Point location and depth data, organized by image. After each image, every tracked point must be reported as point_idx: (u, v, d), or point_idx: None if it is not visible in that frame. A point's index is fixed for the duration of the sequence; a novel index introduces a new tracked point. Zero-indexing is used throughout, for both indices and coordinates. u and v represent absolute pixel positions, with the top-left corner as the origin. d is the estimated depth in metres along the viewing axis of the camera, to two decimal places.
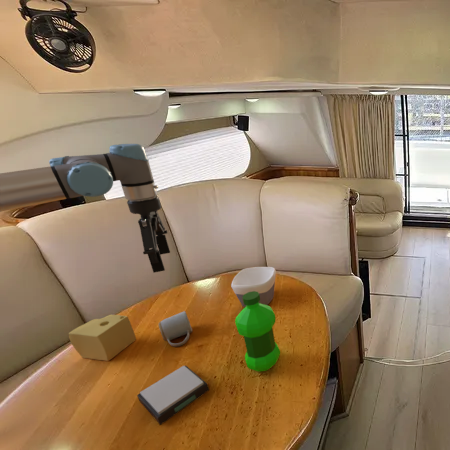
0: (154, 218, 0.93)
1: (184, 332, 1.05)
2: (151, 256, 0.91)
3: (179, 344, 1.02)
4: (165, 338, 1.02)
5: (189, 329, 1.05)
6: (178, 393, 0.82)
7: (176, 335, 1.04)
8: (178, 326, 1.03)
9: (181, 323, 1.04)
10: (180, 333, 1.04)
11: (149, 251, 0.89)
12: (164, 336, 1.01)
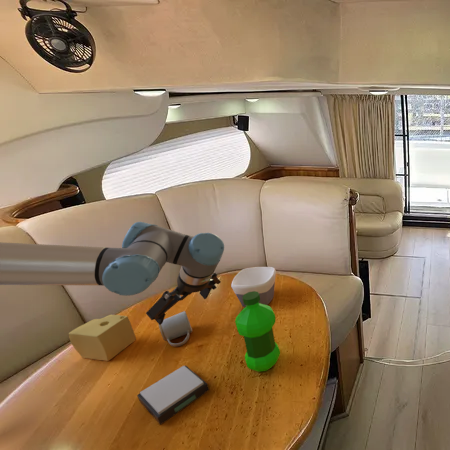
0: (188, 292, 0.86)
1: (184, 332, 1.05)
2: None
3: (179, 344, 1.02)
4: (165, 338, 1.02)
5: (189, 329, 1.05)
6: (178, 393, 0.82)
7: (176, 335, 1.04)
8: (178, 326, 1.03)
9: (181, 323, 1.04)
10: (180, 333, 1.04)
11: (149, 315, 0.84)
12: (164, 336, 1.01)
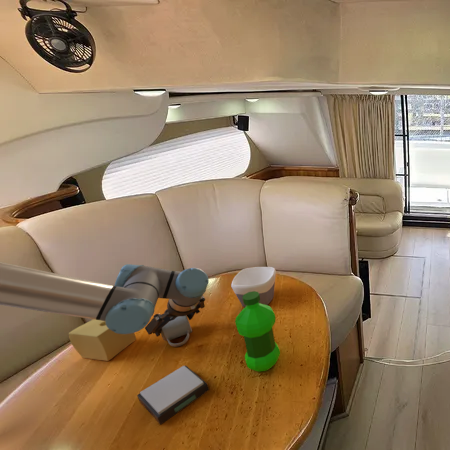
0: None
1: (184, 332, 1.05)
2: None
3: (179, 344, 1.02)
4: (165, 338, 1.02)
5: (189, 329, 1.05)
6: (178, 393, 0.82)
7: (176, 335, 1.04)
8: (178, 326, 1.03)
9: (181, 323, 1.04)
10: (180, 333, 1.04)
11: (147, 330, 0.96)
12: (164, 336, 1.01)
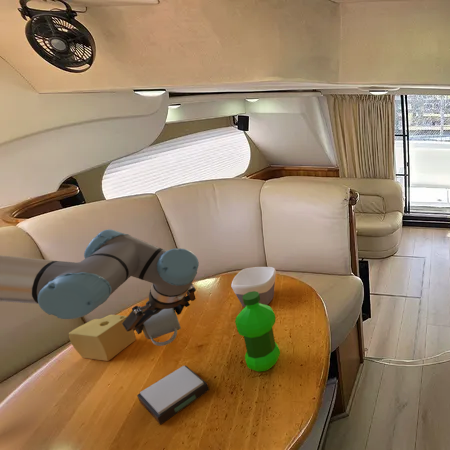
0: (161, 307, 0.79)
1: (171, 329, 0.89)
2: None
3: (165, 343, 0.86)
4: (148, 336, 0.86)
5: (177, 325, 0.89)
6: (178, 393, 0.82)
7: (161, 332, 0.88)
8: (163, 322, 0.87)
9: (167, 318, 0.88)
10: (166, 330, 0.88)
11: (125, 326, 0.79)
12: (146, 334, 0.85)
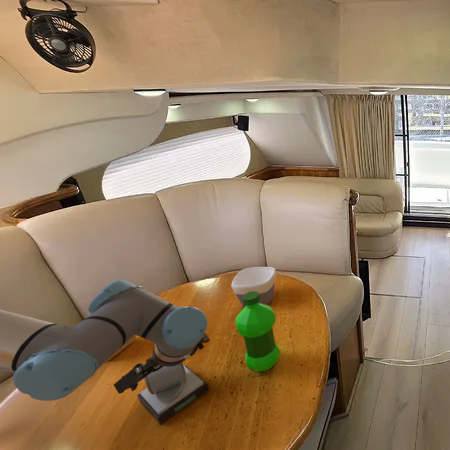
0: None
1: (177, 382, 0.82)
2: None
3: (170, 399, 0.79)
4: (152, 392, 0.79)
5: (183, 378, 0.83)
6: None
7: (166, 387, 0.81)
8: (169, 375, 0.81)
9: (172, 371, 0.81)
10: (172, 384, 0.81)
11: (117, 388, 0.70)
12: (150, 390, 0.79)
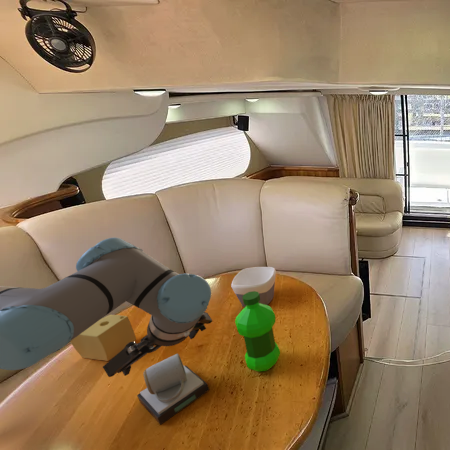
0: None
1: (177, 382, 0.82)
2: None
3: (170, 399, 0.79)
4: (152, 392, 0.79)
5: (183, 378, 0.83)
6: None
7: (166, 387, 0.81)
8: (169, 375, 0.81)
9: (172, 371, 0.81)
10: (172, 384, 0.81)
11: (107, 370, 0.62)
12: (150, 390, 0.79)
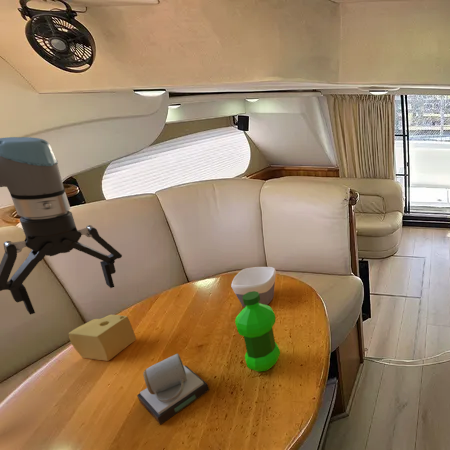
0: (44, 244, 0.66)
1: (177, 382, 0.82)
2: (10, 291, 0.65)
3: (170, 399, 0.79)
4: (152, 392, 0.79)
5: (183, 378, 0.83)
6: None
7: (166, 387, 0.81)
8: (169, 375, 0.81)
9: (172, 371, 0.81)
10: (172, 384, 0.81)
11: None
12: (150, 390, 0.79)
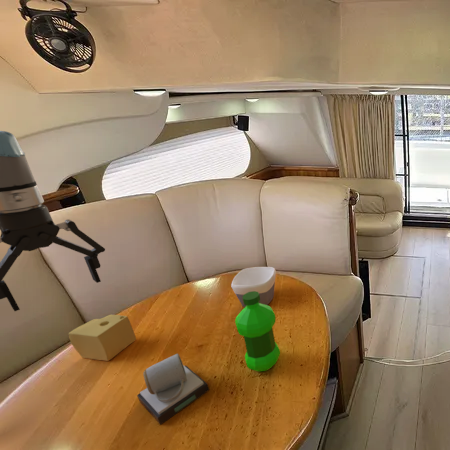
0: (21, 239, 0.65)
1: (177, 382, 0.82)
2: None
3: (170, 399, 0.79)
4: (152, 392, 0.79)
5: (183, 378, 0.83)
6: None
7: (166, 387, 0.81)
8: (169, 375, 0.81)
9: (172, 371, 0.81)
10: (172, 384, 0.81)
11: None
12: (150, 390, 0.79)
